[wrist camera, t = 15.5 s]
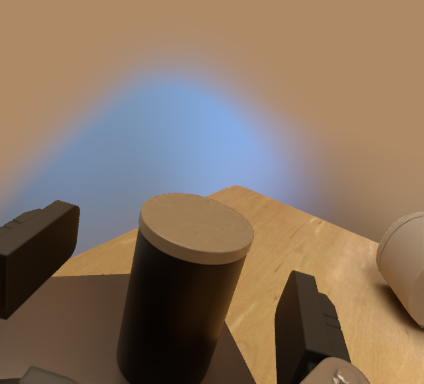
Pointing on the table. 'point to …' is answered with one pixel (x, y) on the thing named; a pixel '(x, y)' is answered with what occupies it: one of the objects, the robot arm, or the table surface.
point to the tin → (180, 287)
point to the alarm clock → (405, 262)
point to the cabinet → (89, 334)
